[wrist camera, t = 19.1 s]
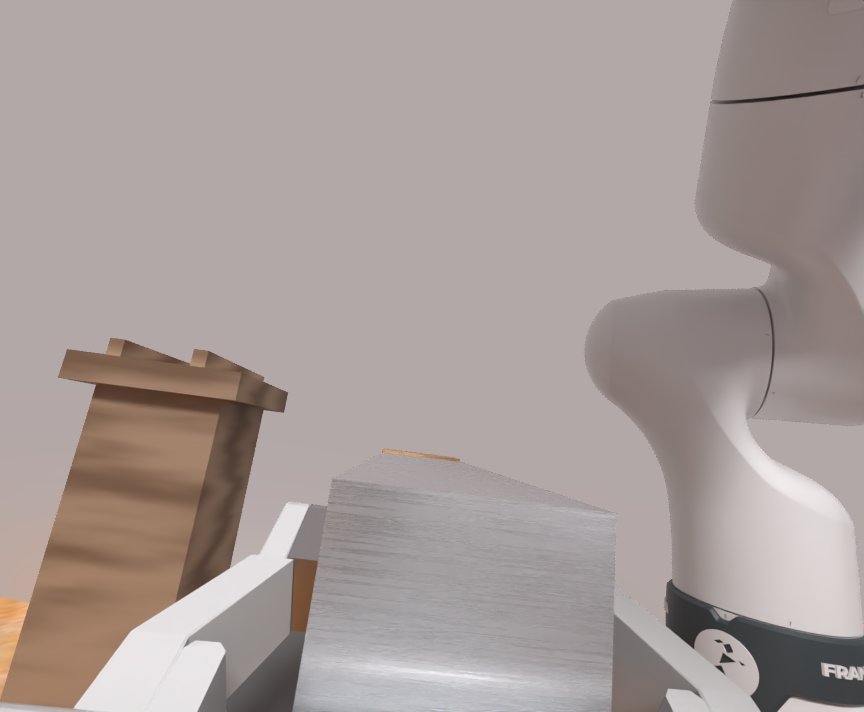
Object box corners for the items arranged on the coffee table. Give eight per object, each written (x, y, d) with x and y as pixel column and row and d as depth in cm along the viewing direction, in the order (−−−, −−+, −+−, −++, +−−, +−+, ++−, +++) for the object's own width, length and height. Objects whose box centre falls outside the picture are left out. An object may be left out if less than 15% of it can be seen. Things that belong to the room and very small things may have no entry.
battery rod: (611, 865, 5) (619, 506, 6) (267, 835, 5) (329, 470, 6) (442, 524, 25) (449, 456, 26) (376, 516, 25) (385, 448, 26)
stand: (147, 834, 22) (254, 354, 28) (-121, 812, 22) (45, 326, 28) (243, 685, 36) (302, 383, 42) (81, 670, 35) (163, 364, 41)
